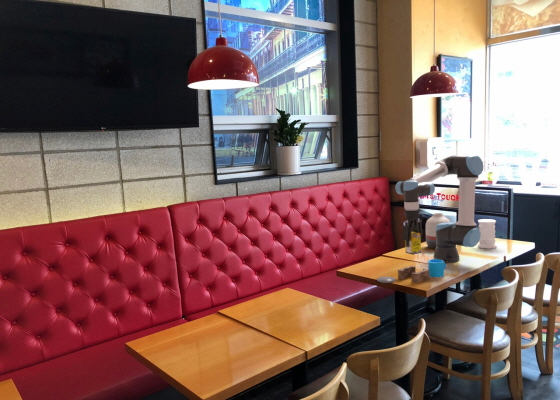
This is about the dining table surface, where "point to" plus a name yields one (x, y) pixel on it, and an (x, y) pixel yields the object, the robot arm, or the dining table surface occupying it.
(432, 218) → the vase
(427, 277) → the pocket
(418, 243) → the supplement box
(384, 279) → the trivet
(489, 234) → the decorative container
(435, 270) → the mug
